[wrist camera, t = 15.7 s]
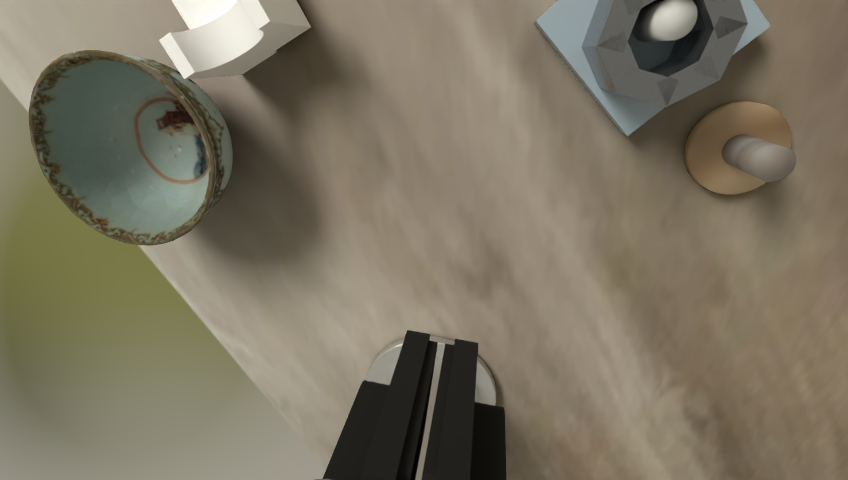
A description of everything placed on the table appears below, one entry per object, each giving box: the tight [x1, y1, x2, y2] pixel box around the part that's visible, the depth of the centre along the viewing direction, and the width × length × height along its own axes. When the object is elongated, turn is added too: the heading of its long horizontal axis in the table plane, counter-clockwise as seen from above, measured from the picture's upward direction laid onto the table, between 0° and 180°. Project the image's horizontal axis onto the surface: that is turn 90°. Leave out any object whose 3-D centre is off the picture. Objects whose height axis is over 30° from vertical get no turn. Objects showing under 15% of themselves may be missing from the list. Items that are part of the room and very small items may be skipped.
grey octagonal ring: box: [581, 0, 748, 107], centre depth 27 cm, size 7×7×5 cm
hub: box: [534, 0, 770, 136], centre depth 28 cm, size 10×10×6 cm
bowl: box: [29, 50, 233, 245], centre depth 35 cm, size 14×14×8 cm
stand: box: [684, 101, 796, 194], centre depth 30 cm, size 6×6×6 cm
